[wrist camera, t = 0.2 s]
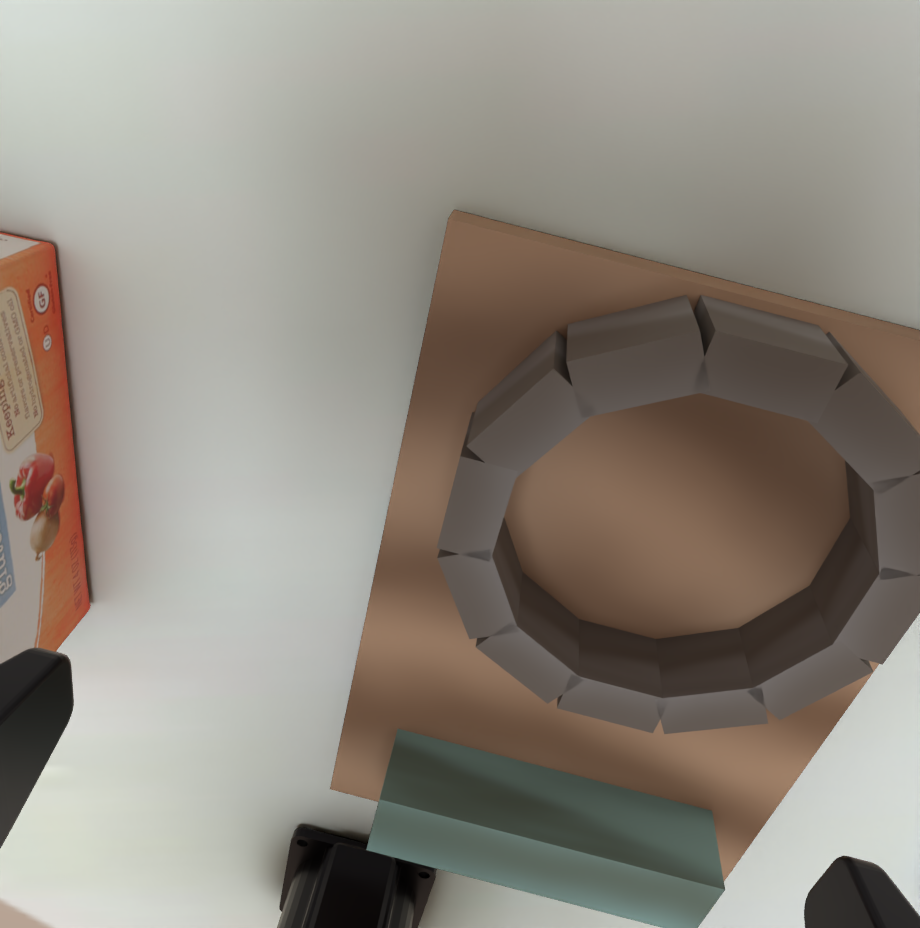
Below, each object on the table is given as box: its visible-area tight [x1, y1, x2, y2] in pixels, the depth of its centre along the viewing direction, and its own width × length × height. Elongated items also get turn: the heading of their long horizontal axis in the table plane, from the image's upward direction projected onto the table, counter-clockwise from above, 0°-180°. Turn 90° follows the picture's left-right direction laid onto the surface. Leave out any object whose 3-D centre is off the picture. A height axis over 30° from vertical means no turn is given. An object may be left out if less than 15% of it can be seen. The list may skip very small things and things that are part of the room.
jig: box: [330, 210, 920, 928], centre depth 24 cm, size 23×16×4 cm
